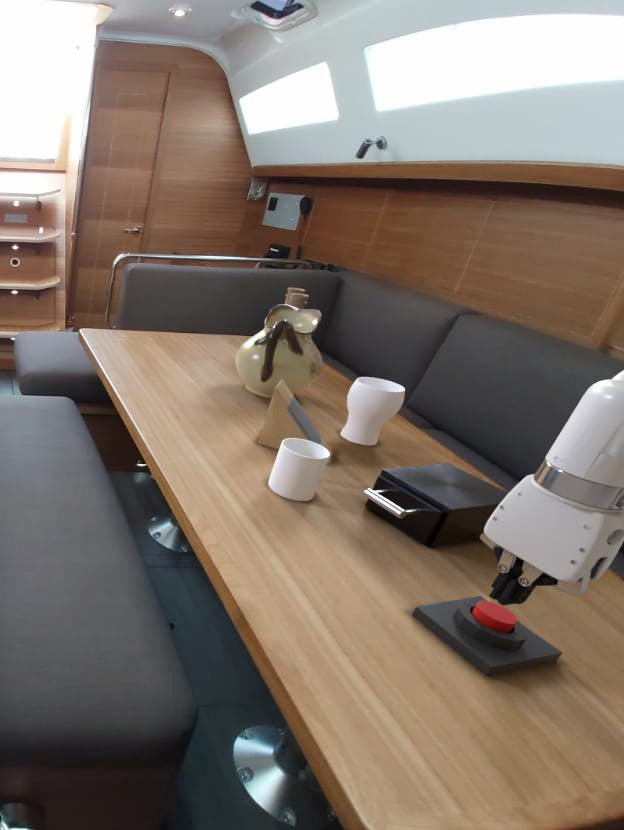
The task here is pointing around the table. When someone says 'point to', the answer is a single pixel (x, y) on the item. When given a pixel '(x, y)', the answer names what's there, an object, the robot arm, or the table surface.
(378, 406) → the cup
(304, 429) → the sandwich container
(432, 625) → the control block
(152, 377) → the table surface
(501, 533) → the robot arm
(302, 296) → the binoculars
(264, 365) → the pitcher
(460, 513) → the black drawer box
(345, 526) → the table surface
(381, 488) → the black drawer
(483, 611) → the button
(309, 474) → the mug
